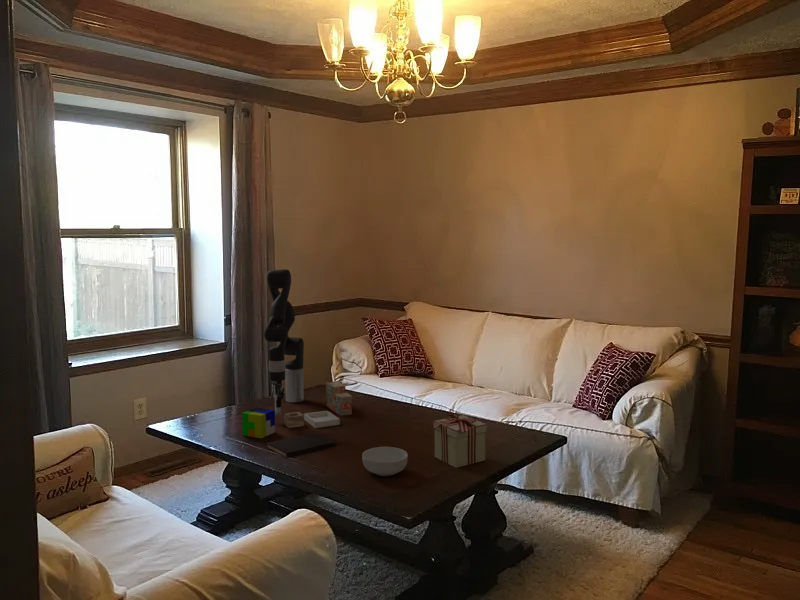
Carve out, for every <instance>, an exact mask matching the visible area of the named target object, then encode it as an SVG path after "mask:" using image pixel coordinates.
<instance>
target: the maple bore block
mask: <svg viewBox="0 0 800 600" xmlns="http://www.w3.org/2000/svg"><path fill="white" fill-rule="evenodd" d="M283 415H284V416H283V417H284V419H283V420H284V423H283V424H284V425H285V426H286V427H288V429H291V428H299V427H304V426H305V420H304V414H303V413H301V411H295V412H288V413H283Z"/></svg>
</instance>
